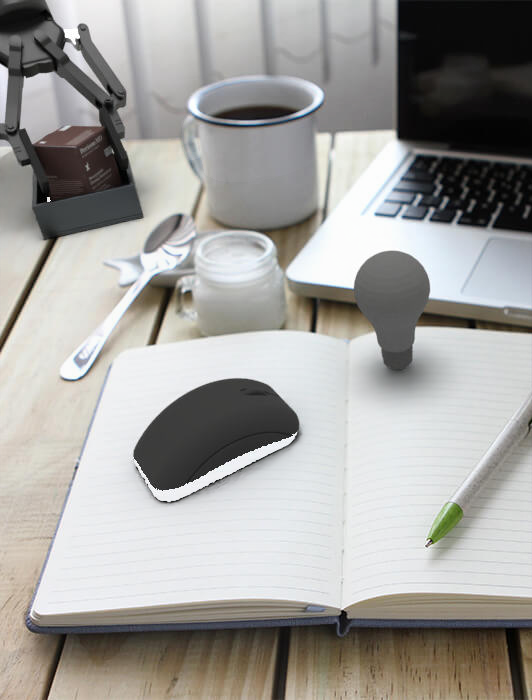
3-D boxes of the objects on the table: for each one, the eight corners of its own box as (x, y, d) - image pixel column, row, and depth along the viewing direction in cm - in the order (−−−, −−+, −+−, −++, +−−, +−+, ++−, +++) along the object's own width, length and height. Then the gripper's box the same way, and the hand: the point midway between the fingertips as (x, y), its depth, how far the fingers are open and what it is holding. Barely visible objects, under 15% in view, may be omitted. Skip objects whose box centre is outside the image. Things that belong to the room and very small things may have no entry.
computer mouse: (308, 436, 56) (300, 392, 54) (161, 509, 52) (146, 465, 49) (267, 392, 61) (259, 351, 58) (129, 456, 56) (114, 414, 54)
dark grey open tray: (44, 201, 95) (32, 170, 92) (135, 181, 97) (126, 150, 95) (44, 240, 86) (31, 207, 84) (143, 217, 88) (134, 184, 86)
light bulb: (425, 393, 59) (418, 278, 53) (354, 385, 60) (340, 273, 54) (440, 349, 63) (435, 238, 57) (374, 342, 64) (362, 234, 59)
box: (95, 210, 87) (75, 147, 83) (51, 206, 89) (28, 145, 85) (124, 186, 92) (106, 125, 88) (81, 184, 94) (62, 124, 90)
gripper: (-101, -4, 81) (-18, 189, 79) (97, -43, 88) (178, 133, 86) (-83, 39, 88) (-7, 218, 86) (99, 0, 95) (173, 164, 93)
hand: (86, 175), depth 86 cm, fingers closed on box, 8 cm apart
